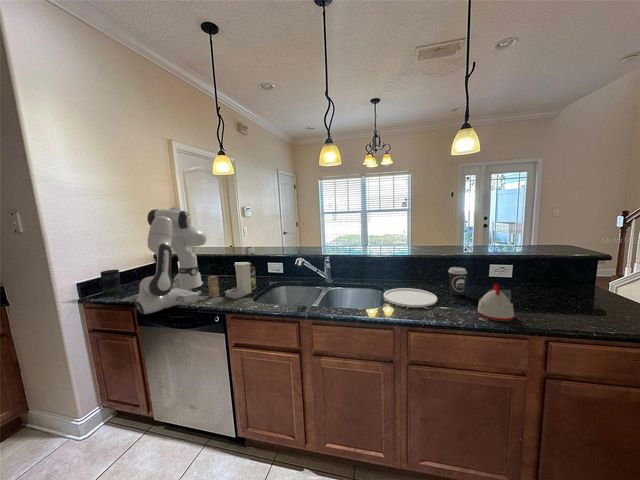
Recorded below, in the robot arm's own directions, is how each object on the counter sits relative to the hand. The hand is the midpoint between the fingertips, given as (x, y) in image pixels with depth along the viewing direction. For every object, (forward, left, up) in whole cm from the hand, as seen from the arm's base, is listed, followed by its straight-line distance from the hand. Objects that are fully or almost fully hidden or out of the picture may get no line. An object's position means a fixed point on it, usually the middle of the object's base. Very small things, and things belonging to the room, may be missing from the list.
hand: (195, 290), depth 152 cm
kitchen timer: (+145, +56, -7) cm, 156 cm away
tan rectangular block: (0, +12, -7) cm, 13 cm away
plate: (+106, +60, -7) cm, 122 cm away
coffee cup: (+127, +81, -7) cm, 151 cm away
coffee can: (+7, +33, -7) cm, 34 cm away
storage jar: (-68, -17, -7) cm, 70 cm away
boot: (+13, +20, -7) cm, 25 cm away
